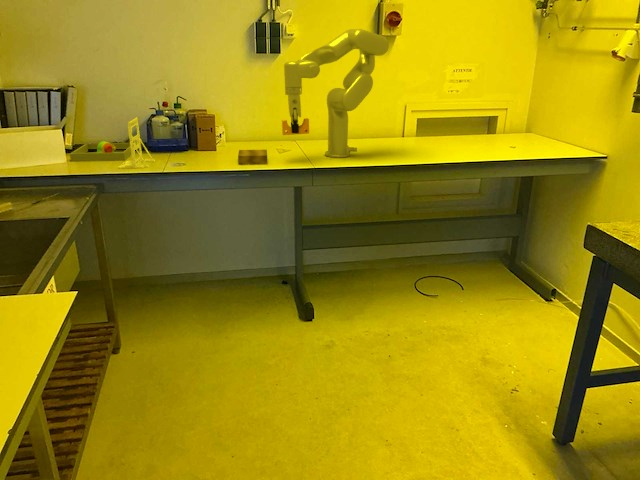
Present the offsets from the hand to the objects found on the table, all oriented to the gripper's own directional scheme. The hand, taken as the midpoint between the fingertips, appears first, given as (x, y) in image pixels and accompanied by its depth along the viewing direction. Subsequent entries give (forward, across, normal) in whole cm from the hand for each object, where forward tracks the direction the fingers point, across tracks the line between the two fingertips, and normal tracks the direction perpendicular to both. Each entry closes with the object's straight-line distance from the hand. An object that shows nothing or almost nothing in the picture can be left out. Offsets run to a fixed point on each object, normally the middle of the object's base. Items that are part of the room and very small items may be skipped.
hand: (295, 131), depth 237 cm
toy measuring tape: (+11, +15, +93) cm, 95 cm away
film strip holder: (+12, -3, +72) cm, 73 cm away
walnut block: (+13, 0, +20) cm, 24 cm away
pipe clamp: (+1, 0, 0) cm, 1 cm away
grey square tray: (+11, +18, +91) cm, 93 cm away
